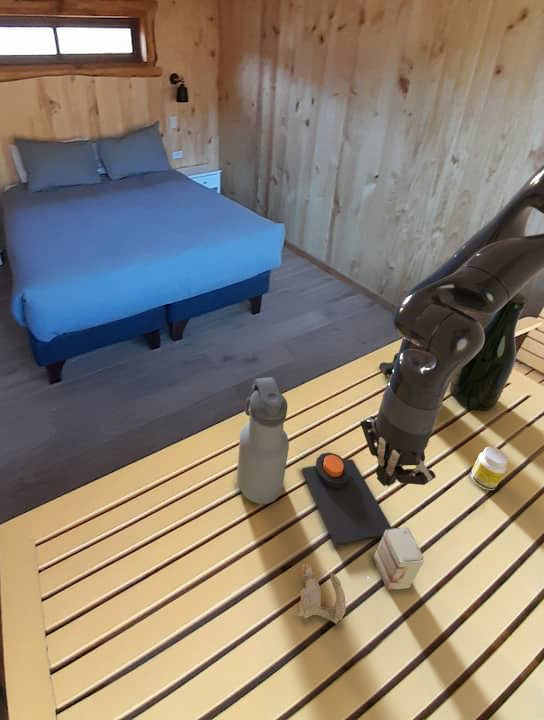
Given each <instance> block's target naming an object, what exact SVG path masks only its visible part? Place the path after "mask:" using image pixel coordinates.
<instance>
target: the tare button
mask: <svg viewBox="0 0 544 720" xmlns="http://www.w3.org/2000/svg"><path fill="white" fill-rule="evenodd" d="M323 468H324V471H325V472H326V473H327V474H328V475H329V476H331V477H335V478H336V477H340V476H341V475H342V472H343V468H344V465H343V462H342V461H341V459H340V458H338V457H337V456H334V455H328V456H326V457H325V459H324V463H323Z"/></svg>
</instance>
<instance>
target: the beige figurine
mask: <svg viewBox="0 0 544 720" xmlns="http://www.w3.org/2000/svg"><path fill="white" fill-rule="evenodd" d="M301 576H302V580H303V582H304V584H305V587H302V588H301V590H300V597H299V598H300V600H299V603H298V612H297V617H303V619H304V620H306V619H308V618H309V617H311V616H319V617H320V618H321V617H322V618H323V619H326V620H328V621H330V622H332V623H334V624H338V623H339V622H340V621H341V620H342V619H343V618H344V616H345V615H346V605H347V604H346V595H345V592H344V589H343V587H342V582H341V581H340V579H339V578H338V576H337V575H336V574H334V573H332V572H329V577H330V582H331V586H332V588H333V590H334V594H335V603H334V605H333V606H332V607H324V606H321V603H322V591H321V586H320V584H319V582H318V580H317V578H316V577H315V576H314V572H313V568H312V567H311V565H310V564H308V563H306V564H302V572H301Z"/></svg>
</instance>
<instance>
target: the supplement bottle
mask: <svg viewBox="0 0 544 720" xmlns="http://www.w3.org/2000/svg"><path fill="white" fill-rule="evenodd" d="M508 462H509V459H508V456H507V455H506V453H505V452H503V451H502V450H501V449H499V448H497V447H494V446H486V447H485V448H484V450H483V451H481V452H480V453H479V454H478V456H477V458H476V460H475V462H474V464H473V466H472V467H471V468H472V469H471V470H470V477H471V479H472V481H473V482H474V483H475V485H477V486H478V487H480V488H481V489H483V490H486V491H494V490H496V488H498V485H499V483H500V482H501V480H502V479H503V477H504V475H505V473H506V471H507V464H508Z"/></svg>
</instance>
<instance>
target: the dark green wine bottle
mask: <svg viewBox="0 0 544 720" xmlns="http://www.w3.org/2000/svg"><path fill="white" fill-rule="evenodd" d="M525 300H526V298H525V296H524V295H523V294H521V293H520V292H518V293H516V294H515V295H514V296H513V297H512V298H511V299H510V300H509V301H508V302H507V303H506V304H505V305H504V306H503V307H502V308H501V309H500V310H499V311H497V312H496V313H494V314H493V316H492V318H491V319H490V321H489V322H488V323H487V324H486V325H485V326H484V327H483V330H484V334H485V341H484V345H483V347H482V349H481V350H480V351H479V352H478V353H477V355H476V356H475V357H474V358H472V359H471V360H470V361H469V362H468V363H467V364H466V365H465V366H463V367H462V368H461V369H460V371H459V372H458V373H457V374H456V375H455V377H454V378H453V379H452V381H451V382H450V384H449V386H448V389H449V392H450V394H451V396H452V397H453V399H455V400H456V401H457V402H458V403H459V404H460V405H462V406H464V407H465V408H468V409H470V410H472V411H476V412H482V413H484V412H485V413H486V412H491V411H492V410H494V409H495V408H496V406H497V404H498V402H499V400H500V399H501V396H502V394H503V392H504V389H505V387H506V385H507V384H508V381H509V378H510V376H511V374H512V372H513V368H514V366H515V363H516V361H517V360H516V359H517V345H516V329H517V328H516V327H517V325H518V322H519V320H520V316H521V314H522V312H523V311H524V309H525V308H526V302H525Z"/></svg>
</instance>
